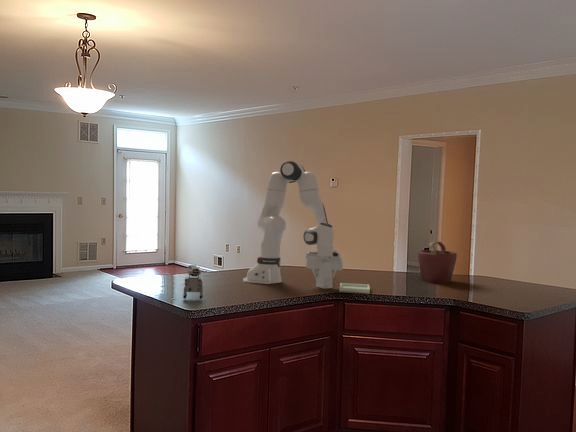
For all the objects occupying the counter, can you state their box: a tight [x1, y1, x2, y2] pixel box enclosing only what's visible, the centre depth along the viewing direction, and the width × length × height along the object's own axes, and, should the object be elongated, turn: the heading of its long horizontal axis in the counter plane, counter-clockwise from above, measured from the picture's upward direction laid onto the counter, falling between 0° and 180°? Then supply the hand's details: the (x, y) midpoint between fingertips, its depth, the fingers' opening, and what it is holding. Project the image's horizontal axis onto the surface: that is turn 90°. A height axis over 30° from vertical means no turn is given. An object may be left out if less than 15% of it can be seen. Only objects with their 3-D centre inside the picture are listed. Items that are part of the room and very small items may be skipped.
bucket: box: [417, 240, 458, 285], centre depth 327 cm, size 24×22×25 cm
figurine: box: [182, 264, 204, 299], centre depth 254 cm, size 9×12×15 cm
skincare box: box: [315, 261, 333, 290], centre depth 293 cm, size 8×6×15 cm
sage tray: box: [338, 282, 371, 295], centre depth 288 cm, size 16×16×2 cm
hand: (324, 277), depth 293 cm, fingers open, 8 cm apart
